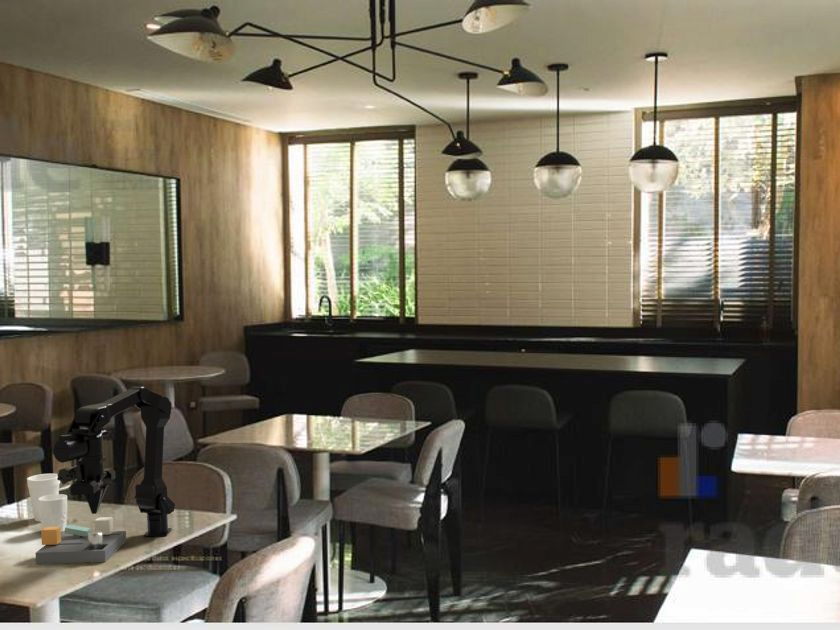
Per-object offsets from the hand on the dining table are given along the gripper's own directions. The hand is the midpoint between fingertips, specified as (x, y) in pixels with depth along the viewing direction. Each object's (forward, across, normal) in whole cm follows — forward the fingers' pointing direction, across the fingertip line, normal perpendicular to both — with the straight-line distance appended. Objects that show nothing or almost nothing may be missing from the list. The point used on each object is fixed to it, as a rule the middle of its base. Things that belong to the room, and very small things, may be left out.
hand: (94, 513), depth 242 cm
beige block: (+9, -11, -2) cm, 14 cm away
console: (+12, -6, -6) cm, 14 cm away
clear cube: (+9, 0, 0) cm, 9 cm away
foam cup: (+12, -42, -30) cm, 52 cm away
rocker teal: (+7, -10, -8) cm, 15 cm away
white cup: (+12, -28, -22) cm, 37 cm away
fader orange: (+9, -4, -13) cm, 16 cm away
